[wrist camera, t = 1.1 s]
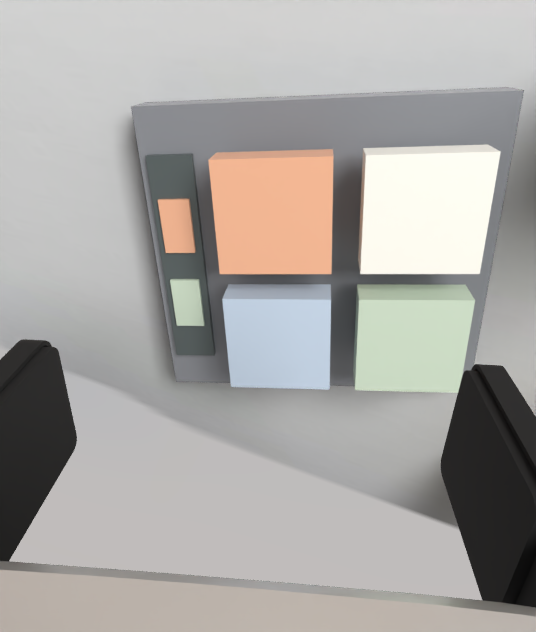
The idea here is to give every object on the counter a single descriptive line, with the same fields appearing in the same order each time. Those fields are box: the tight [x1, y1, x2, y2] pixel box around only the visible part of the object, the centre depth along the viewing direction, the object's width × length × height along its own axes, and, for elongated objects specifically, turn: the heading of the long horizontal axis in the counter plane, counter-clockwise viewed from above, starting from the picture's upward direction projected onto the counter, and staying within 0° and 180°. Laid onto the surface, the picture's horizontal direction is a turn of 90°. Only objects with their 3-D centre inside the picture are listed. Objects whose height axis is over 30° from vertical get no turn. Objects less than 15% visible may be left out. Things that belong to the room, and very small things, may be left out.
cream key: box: [358, 144, 501, 274], centre depth 25 cm, size 6×6×2 cm
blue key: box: [222, 284, 331, 390], centre depth 29 cm, size 6×6×2 cm
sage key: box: [353, 284, 475, 393], centre depth 28 cm, size 6×6×2 cm
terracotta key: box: [208, 149, 333, 274], centre depth 25 cm, size 6×6×2 cm
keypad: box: [131, 87, 524, 386], centre depth 30 cm, size 20×18×3 cm
